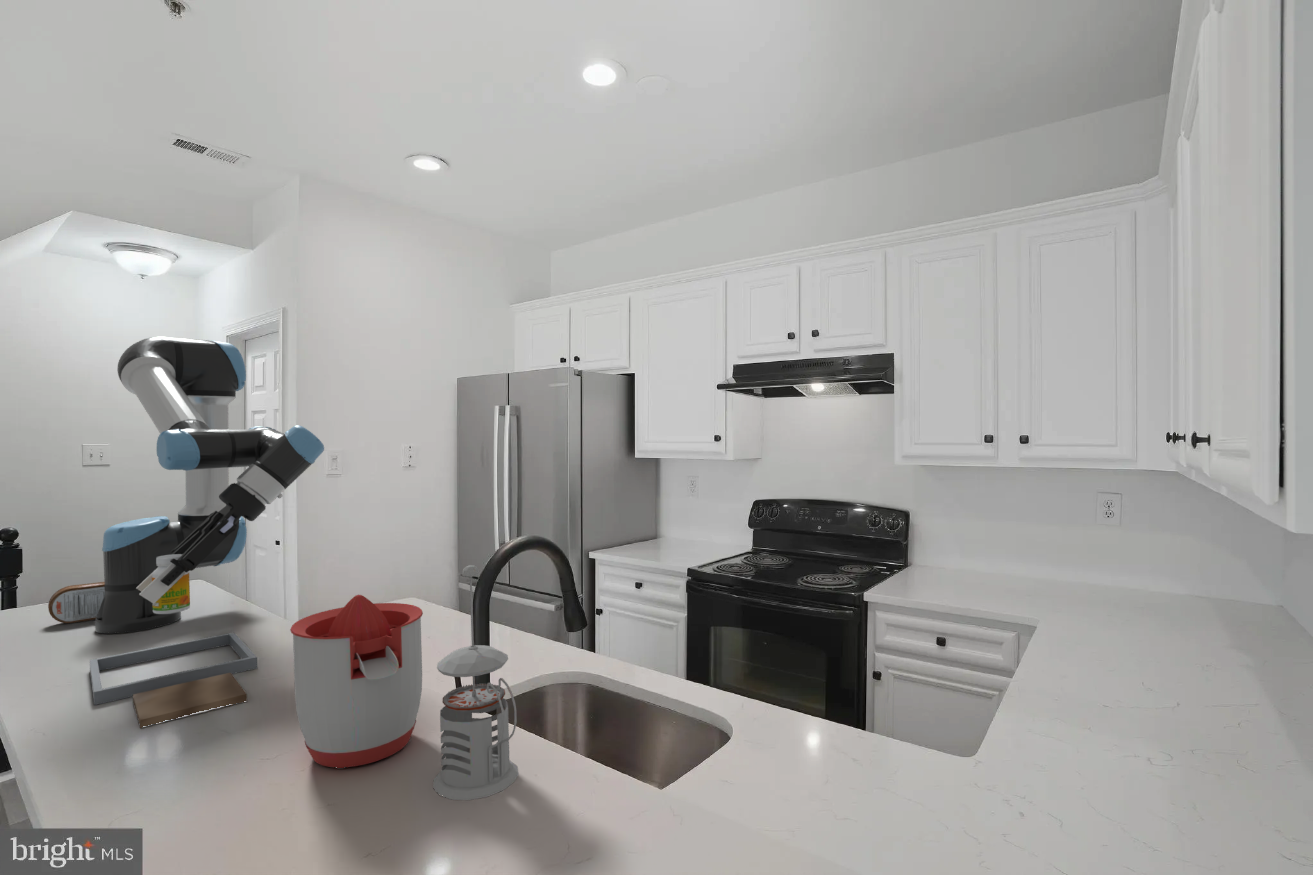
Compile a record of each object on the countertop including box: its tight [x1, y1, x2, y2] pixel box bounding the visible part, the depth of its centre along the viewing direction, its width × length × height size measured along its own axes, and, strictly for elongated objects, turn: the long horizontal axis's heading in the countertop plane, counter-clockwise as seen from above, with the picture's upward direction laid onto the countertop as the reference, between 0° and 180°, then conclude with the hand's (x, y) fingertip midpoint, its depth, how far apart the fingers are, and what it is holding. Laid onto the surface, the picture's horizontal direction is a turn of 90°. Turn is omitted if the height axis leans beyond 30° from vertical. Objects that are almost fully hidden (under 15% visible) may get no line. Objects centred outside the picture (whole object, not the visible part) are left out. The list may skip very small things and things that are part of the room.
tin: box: [47, 581, 105, 624], centre depth 153 cm, size 15×3×8 cm, turn 130°
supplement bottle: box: [152, 554, 191, 614], centre depth 117 cm, size 5×5×10 cm
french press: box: [432, 564, 519, 801], centre depth 77 cm, size 10×12×25 cm
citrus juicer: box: [289, 594, 424, 769], centre depth 85 cm, size 16×17×20 cm
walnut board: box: [132, 673, 248, 729], centre depth 102 cm, size 13×13×1 cm
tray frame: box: [89, 632, 258, 706], centre depth 117 cm, size 22×21×2 cm
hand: (145, 595), depth 114 cm, fingers closed on supplement bottle, 5 cm apart
